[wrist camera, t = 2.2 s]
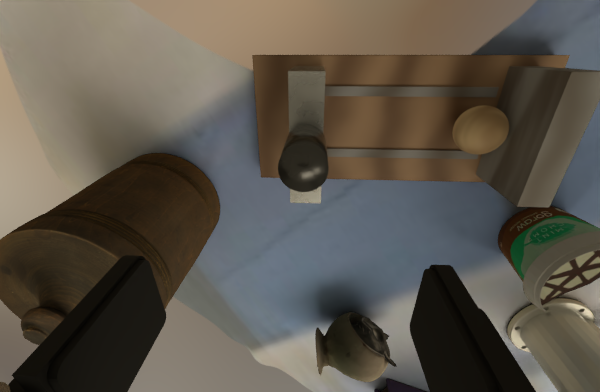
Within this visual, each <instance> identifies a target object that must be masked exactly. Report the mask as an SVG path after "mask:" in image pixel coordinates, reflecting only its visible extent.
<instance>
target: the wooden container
mask: <svg viewBox="0 0 600 392" xmlns="http://www.w3.org/2000/svg"><path fill="white" fill-rule="evenodd" d="M219 215H220V204H219V199H218V195H217V193H216V190H215V188H214V186H213V185H212V183H211V182H210V180H209V179H208V178H207V177H206V176H205V174H204V173H203V172H202V171H201V170H199V169H198V168H197V167H196V166H194V165H193V164H191V163H190V162H188V161H186V160H184V159H182V158H180V157H177V156H173V155H169V154H163V153H151V154H146V155H142V156H139V157H137V158H135V159H133V160H131V161H129V162H127V163H126V164H124V165H122V166H121V167H119V168H117V169H115V170H113V171H112V172H110V173H108V174H107V175H105V176H103V177H102V178H100V179H99V180H97V181H95V182H94V183H92V184H91V185H89V186H88V187H86V188H85V189H83V190H82V191H80V192H79V193H77V194H75V195H74V196H72V197H71V198H69V199H68V200H66V201H65V202H63V203H61V204H60V205H58V206H56V207H55V208H53V209H52V210H50V211H49V212H47V213H45V214H43V215H41V216H38V217H37V218H35V219H33V220H31V221H29V222H27V223H25V224H24V225H22V226H20V227H18V228H17V229H15V230H14V231H12V232H11V233H9V234H7V235H6V236H5V237H3V238H2V239H1V240H0V299H1V301H3V303H4V304H5V305H6V306H7V307H8V308H9V309H10V310H11V311H12V312H13V313H14V314H15V315H17V316H18V317H19V318H20V319H21V320H22V321H21V327H22V330H23V336H24V338H25V339H27V340H29V341H30V342H32V343H35V344H38V345H40V344H41V343H42V342H43V341H44V340H45V339H46V338H47V337H48V336H49V335H50V334H51V332H52V331H53V330H54V329H55V328H56V327H57V326H58V325H59V324H60V323H61V322H62V321H63V320H64V318H65V317H66V316H67V315H68V314H69V313H70V312H71V311H72V310H73V309H74V308H75V307H76V305H77V304H78V303H79V302H80V301H81V300H82V299H83V298H84V297H85V296H86V295H87V294H88V293H89V291H90V290H91V289H92V288H93V287H94V286H95V285H96V284H97V283H98V282H99V281H100V280H101V279H102V277H103V276H104V275H105V274H106V273H107V272H108V271H109V270H110V269H111V268H112V267H113V266H114V265H115V263H116V262H117V261H118V260H119V259H120V258H121V257H122V256H125V255H135V256H143V257H145V259H146V260H148V261H149V263H150V265H151V268H152V271H153V275H154V278H155V281H156V284H157V287H158V290H159V293H160V296H161V299H162V303H163V306H164V309H165V308H166V306H167V305H168V303H169V301H170V300H171V298H172V297H173V295H174V294H175V292H176V290H177V289H178V287H179V286H180V284H181V282H182V281H183V279H184V278H185V276H186V275H187V273H188V272H189V270H190V269H191V267H192V266H193V264H194V262H195V261H196V259H197V257H198V256H199V254H200V252H201V251H202V249H203V247H204V246H205V244H206V242H207V240H208V238H209V237H210V235H211V233H212V232H213V230H214V228H215V226H216V225H217V222H218V220H219Z"/></svg>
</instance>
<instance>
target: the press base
mask: <svg viewBox="0 0 600 392" xmlns="http://www.w3.org/2000/svg"><path fill="white" fill-rule="evenodd" d="M569 56H570V55H253V70H254V84H255V98H256V113H257V127H258V141H259V155H260V170H261V177H270V178H280V176H279V173H278V163H279V160H280V157H281V154H282V151H283V148H284V145H285V142H286V139H287V136H288V134H289V96H288V71H289V70H290V69H292V68H293V67H294V66H324V69H325V71H326V74H325V100H324V127H323V134H324V136H325V139H326V146H327V156H328V166H329V171H328V176H327V178H326V179H365V180H412V181H460V182H486V183H487V184H489V185H490V186H491V187H493V188H494V189H495V190H496V191H498V192H499V193H500V194H501V195H503V196H504V197H505V198H507V199H508V200H509V201H510V202H512V203H513V204H514V205H515V206H517V207H550V205H551V202H552V200H553V198H554V196H555V194H556V192H557V190H558V188H559V185H560V183H561V181H562V179H563V177H564V175H565V173H566V170H567V168H568V166H569V164H570V162H571V160H572V158H573V155H574V153H575V151H576V149H577V147H578V145H579V143H580V141H581V138H582V136H583V134H584V132H585V130H586V128H587V126H588V123H589V121H590V119H591V117H592V115H593V113H594V111H595V109H596V106H597V104H598V102H599V100H600V71H595V70H582V69H569V68H565V66H566V63H567V61H568V58H569ZM483 105H487V106H492V107H495V108H498V109H499V110H501V111H502V112H503V113H504V114H505V115H506V117H507V119H508V122H509V132H508V135H507V138H506V139H505V141H504V142H503V143H502V144H501V145H500V146H499V147H498V148H497V149H495V150H493V151H491V152H489V153H485V154H470V153H467V152H464V151H463V150H461V149H460V148H459V147H458V146H457V145H456V143H455V142H454V139H453V134H452V132H453V127H454V124H455V122H456V120H457V119H458V117H459V116H460V115H461V114H462V113H464V112H465V111H466V110H468V109H470V108H473V107H476V106H483Z"/></svg>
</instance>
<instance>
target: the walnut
mask: <svg viewBox="0 0 600 392" xmlns="http://www.w3.org/2000/svg"><path fill="white" fill-rule="evenodd" d="M508 132H509V122H508V119H507V117H506V115H505V114H504V113H503V112H502V111H501V110H499V109H498V108H495V107H492V106H487V105H483V106H476V107H473V108H470V109H468V110H466V111H465V112H464V113H462V114H461V115H460V116H459V117H458V119H457V120H456V122H455V124H454V127H453V132H452V134H453V139H454V142H455V143H456V145H457V146H458V147H459V148H460V149H461V150H463V151H464V152H467V153H470V154H485V153H489V152H491V151H493V150H495V149H497V148H498V147H499V146H500V145H501V144H502V143H503V142H504V141H505V139H506V138H507V135H508Z"/></svg>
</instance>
